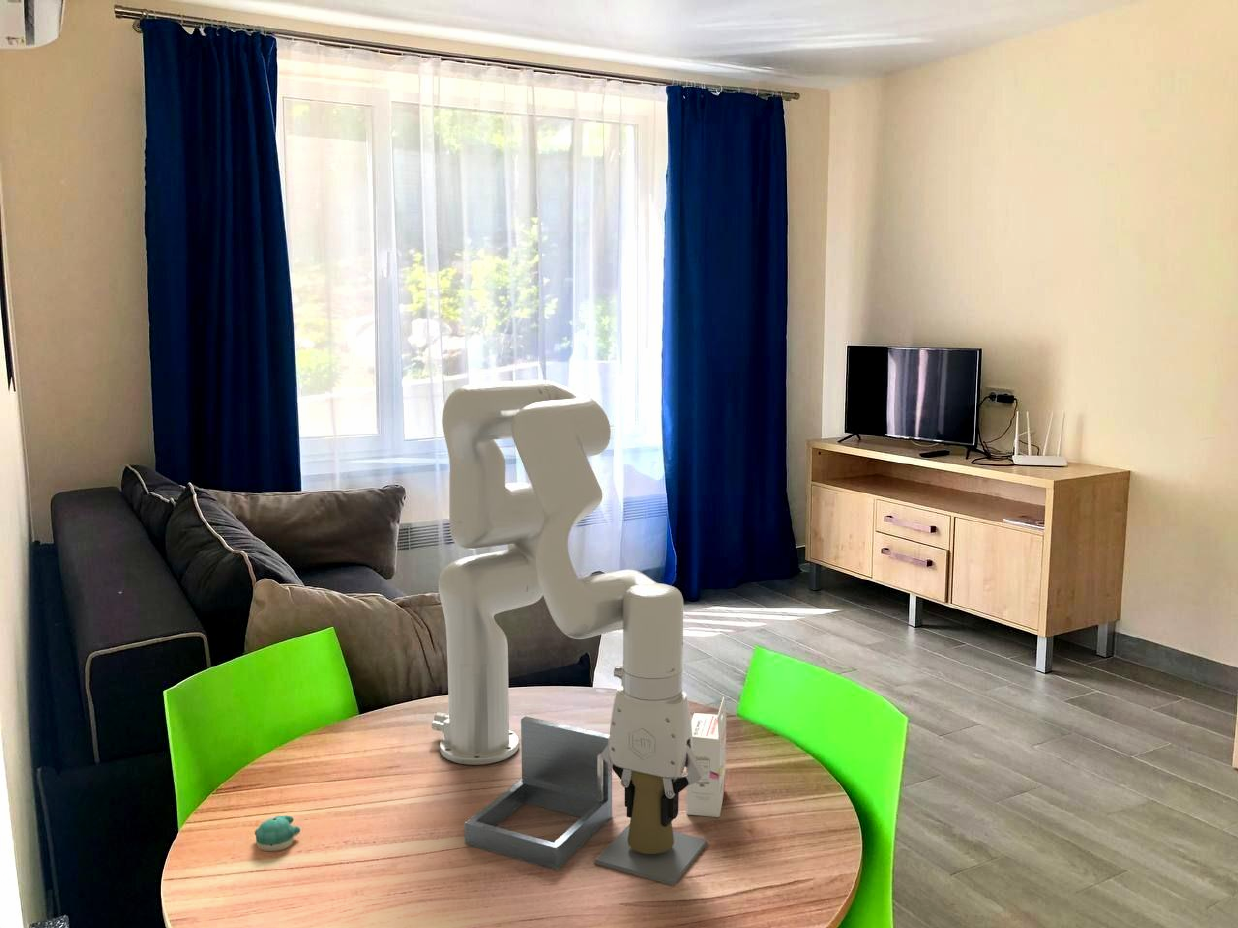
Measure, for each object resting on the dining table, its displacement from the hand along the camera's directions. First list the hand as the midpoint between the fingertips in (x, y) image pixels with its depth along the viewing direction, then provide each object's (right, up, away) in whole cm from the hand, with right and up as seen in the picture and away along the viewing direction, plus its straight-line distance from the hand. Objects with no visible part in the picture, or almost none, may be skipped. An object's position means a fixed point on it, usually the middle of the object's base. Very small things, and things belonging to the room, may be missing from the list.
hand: (651, 815), depth 129 cm
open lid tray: (-15, -4, +6) cm, 17 cm away
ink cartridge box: (+8, -3, +14) cm, 17 cm away
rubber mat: (0, -5, +1) cm, 5 cm away
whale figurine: (-50, -5, +4) cm, 50 cm away
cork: (0, -4, +1) cm, 4 cm away
